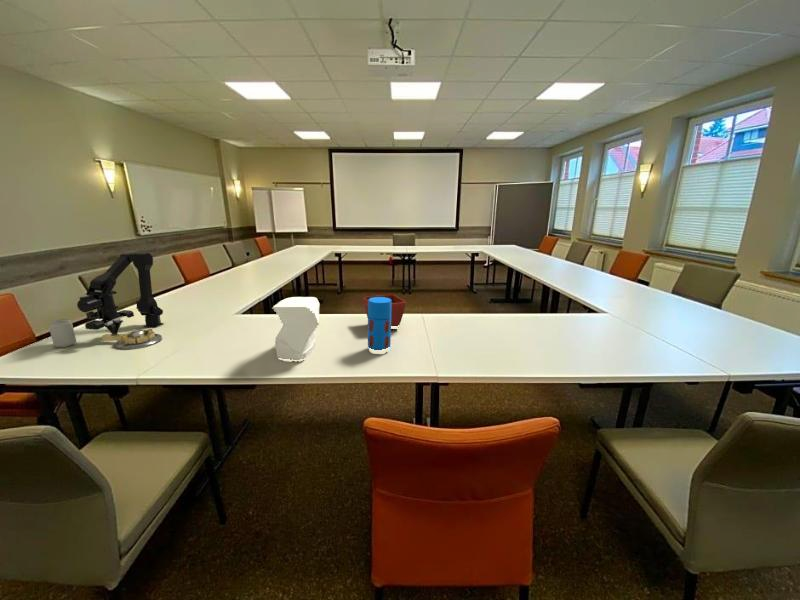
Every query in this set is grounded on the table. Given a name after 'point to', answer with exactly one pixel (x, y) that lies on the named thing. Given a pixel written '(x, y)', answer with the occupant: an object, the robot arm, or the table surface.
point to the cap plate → (136, 346)
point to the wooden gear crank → (128, 339)
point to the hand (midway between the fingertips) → (115, 336)
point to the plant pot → (396, 308)
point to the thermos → (379, 323)
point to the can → (62, 333)
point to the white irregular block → (297, 327)
